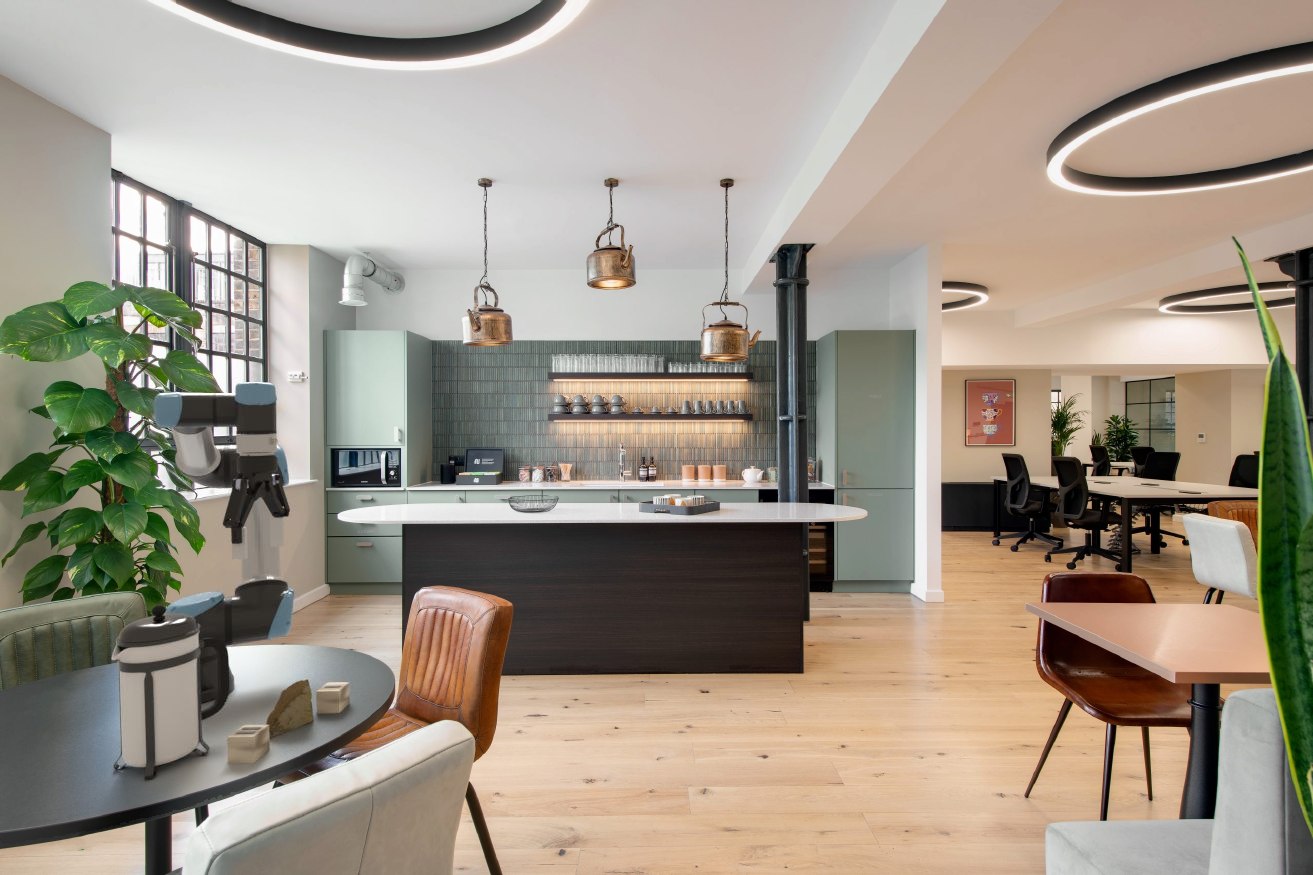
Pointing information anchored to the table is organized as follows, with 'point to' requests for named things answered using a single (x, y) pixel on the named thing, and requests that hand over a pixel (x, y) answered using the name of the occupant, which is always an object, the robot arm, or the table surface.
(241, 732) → the birch block
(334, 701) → the birch block
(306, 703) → the rock
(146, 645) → the coffee press
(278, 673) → the table surface
